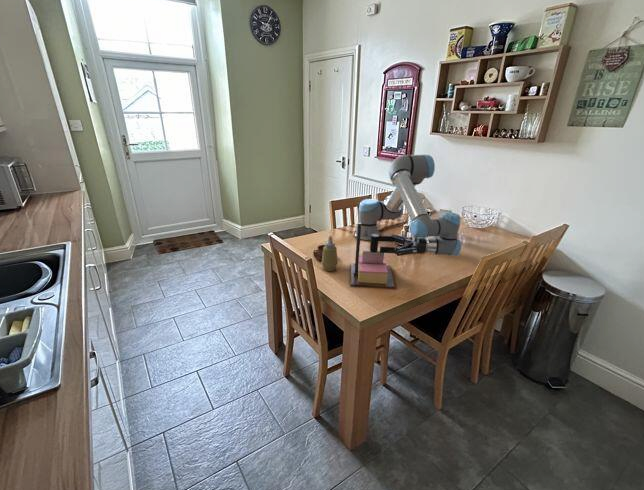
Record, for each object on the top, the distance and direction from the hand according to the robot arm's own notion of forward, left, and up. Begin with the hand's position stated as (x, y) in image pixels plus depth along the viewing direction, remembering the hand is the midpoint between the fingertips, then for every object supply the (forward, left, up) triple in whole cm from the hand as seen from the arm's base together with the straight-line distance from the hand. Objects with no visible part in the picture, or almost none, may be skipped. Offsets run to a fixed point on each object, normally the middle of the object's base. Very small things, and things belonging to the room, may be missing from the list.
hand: (378, 243), depth 153 cm
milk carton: (-70, -11, -18) cm, 73 cm away
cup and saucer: (+7, -31, -18) cm, 37 cm away
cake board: (+1, -1, -17) cm, 18 cm away
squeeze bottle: (+13, -19, -18) cm, 29 cm away
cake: (+1, -1, -17) cm, 18 cm away
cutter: (+1, -1, -11) cm, 11 cm away
